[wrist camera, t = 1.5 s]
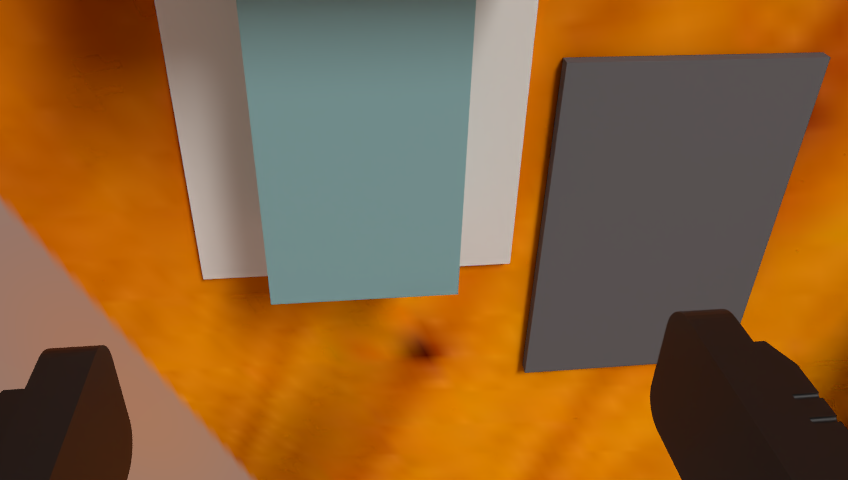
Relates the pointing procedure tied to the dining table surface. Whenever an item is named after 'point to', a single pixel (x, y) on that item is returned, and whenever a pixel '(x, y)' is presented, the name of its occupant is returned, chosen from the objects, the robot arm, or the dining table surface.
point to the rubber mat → (660, 196)
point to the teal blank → (359, 143)
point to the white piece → (233, 149)
